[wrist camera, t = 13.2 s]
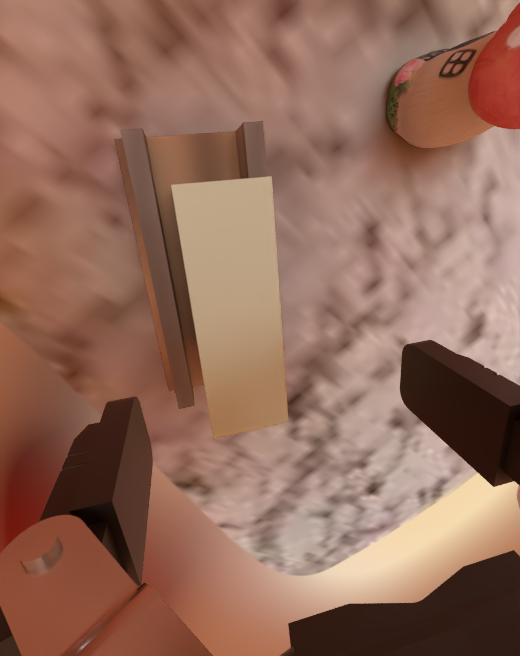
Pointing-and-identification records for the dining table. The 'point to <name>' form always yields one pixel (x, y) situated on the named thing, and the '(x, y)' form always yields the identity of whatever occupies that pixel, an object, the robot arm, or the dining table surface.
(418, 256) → the dining table surface
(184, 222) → the door panel
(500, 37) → the decorative ornament
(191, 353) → the door track
